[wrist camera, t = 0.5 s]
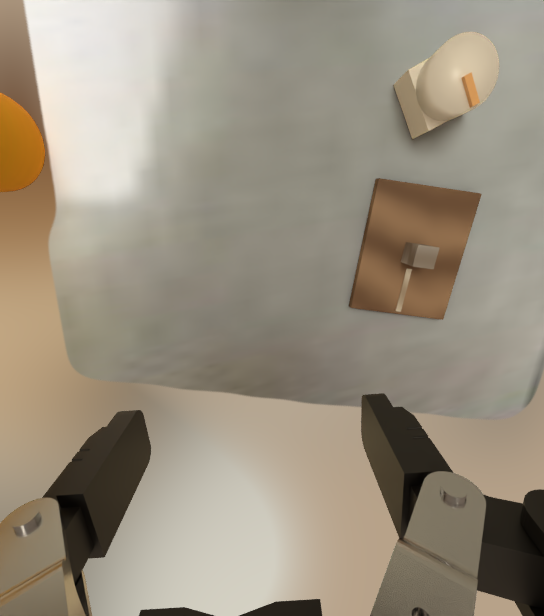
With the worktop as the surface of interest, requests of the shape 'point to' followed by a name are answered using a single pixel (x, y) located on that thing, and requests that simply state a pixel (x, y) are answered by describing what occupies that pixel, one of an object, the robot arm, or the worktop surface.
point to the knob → (448, 82)
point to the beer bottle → (18, 147)
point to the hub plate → (412, 226)
